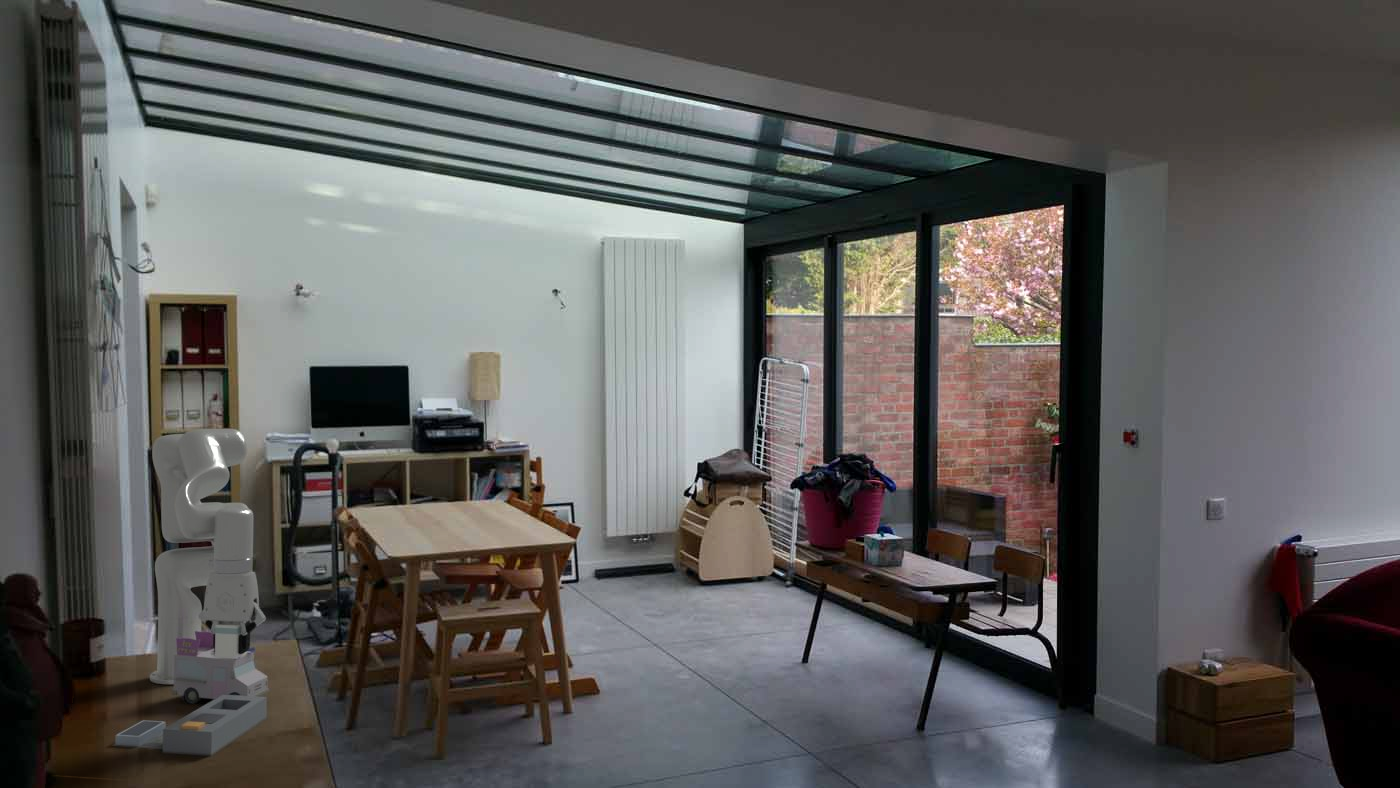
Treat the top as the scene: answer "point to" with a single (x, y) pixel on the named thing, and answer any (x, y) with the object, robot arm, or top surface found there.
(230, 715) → the grey compartment tray
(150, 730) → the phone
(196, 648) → the toy vehicle
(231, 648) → the charger
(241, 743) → the top surface
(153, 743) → the mat
